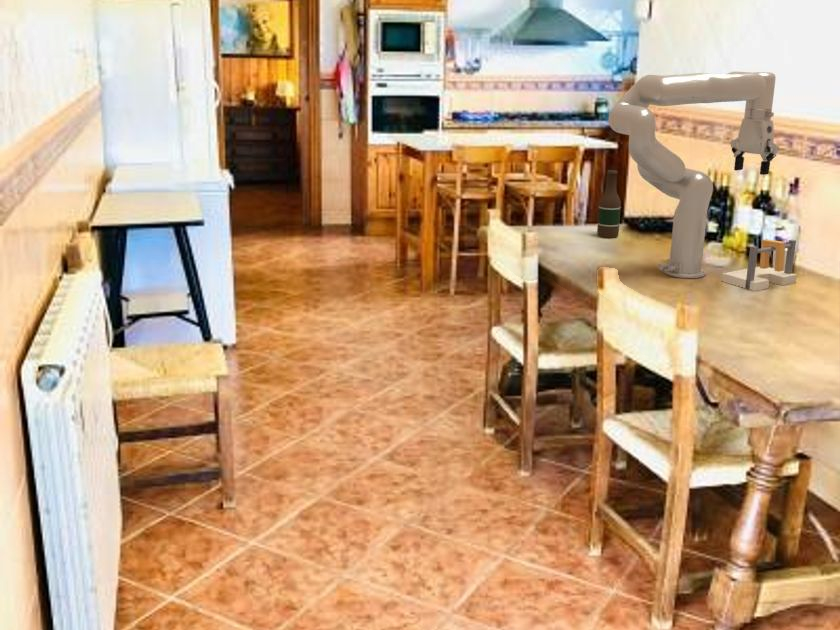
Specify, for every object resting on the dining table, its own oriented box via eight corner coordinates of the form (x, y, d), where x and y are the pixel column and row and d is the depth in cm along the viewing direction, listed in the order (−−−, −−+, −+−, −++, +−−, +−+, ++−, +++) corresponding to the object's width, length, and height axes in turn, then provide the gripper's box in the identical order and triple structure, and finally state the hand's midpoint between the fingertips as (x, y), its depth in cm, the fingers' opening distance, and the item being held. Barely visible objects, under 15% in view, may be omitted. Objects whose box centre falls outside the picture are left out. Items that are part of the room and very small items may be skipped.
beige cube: (795, 273, 274) (798, 251, 272) (772, 272, 275) (775, 250, 273) (791, 267, 281) (794, 246, 278) (768, 266, 282) (771, 245, 280)
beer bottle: (620, 238, 318) (625, 172, 311) (598, 238, 319) (603, 171, 311) (616, 234, 326) (621, 168, 318) (595, 234, 326) (599, 168, 319)
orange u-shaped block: (764, 267, 263) (766, 239, 261) (783, 270, 257) (785, 242, 255) (759, 268, 262) (761, 239, 260) (778, 271, 256) (780, 242, 254)
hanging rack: (754, 291, 255) (759, 248, 251) (721, 281, 265) (726, 240, 261) (795, 282, 264) (801, 241, 260) (762, 273, 274) (767, 233, 270)
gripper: (790, 116, 260) (783, 175, 265) (743, 112, 274) (737, 167, 279) (773, 117, 256) (765, 177, 262) (726, 113, 271) (720, 169, 276)
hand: (751, 172), depth 270 cm, fingers open, 9 cm apart
